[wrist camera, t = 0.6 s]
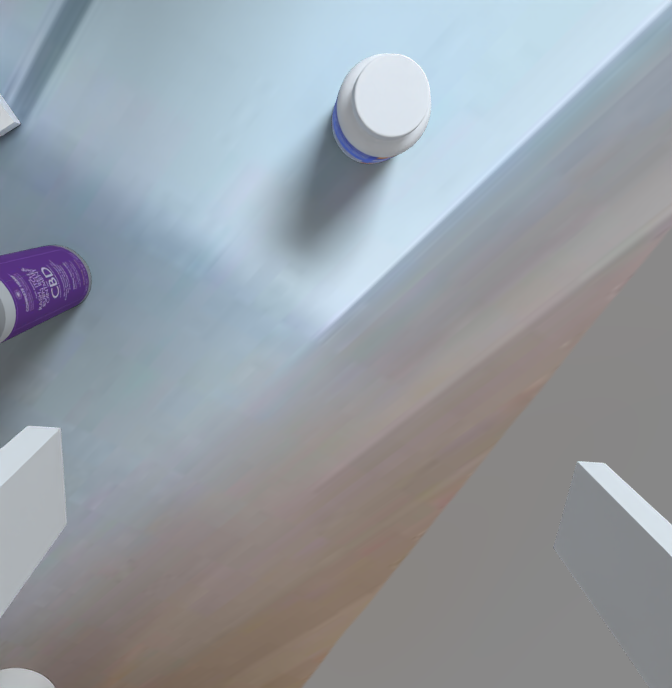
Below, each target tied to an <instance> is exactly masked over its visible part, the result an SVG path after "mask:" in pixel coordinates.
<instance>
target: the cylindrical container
mask: <svg viewBox="0 0 672 688" xmlns="http://www.w3.org/2000/svg"><path fill="white" fill-rule="evenodd" d="M0 688H55V687H54V685H53V684H52V683H51V682H50V680H48V679H47V678H46V677H44V676H43V675H41V674H39V673H37V672H35V671H32V670H28V669H23V668H8V669H3V670H0Z"/></svg>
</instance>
